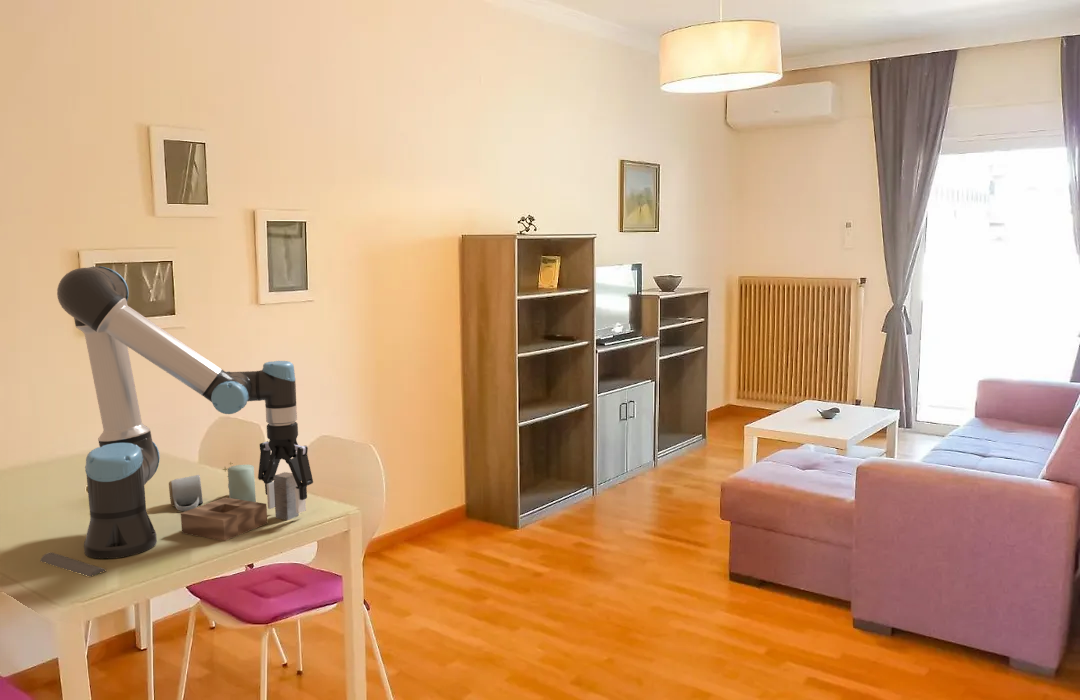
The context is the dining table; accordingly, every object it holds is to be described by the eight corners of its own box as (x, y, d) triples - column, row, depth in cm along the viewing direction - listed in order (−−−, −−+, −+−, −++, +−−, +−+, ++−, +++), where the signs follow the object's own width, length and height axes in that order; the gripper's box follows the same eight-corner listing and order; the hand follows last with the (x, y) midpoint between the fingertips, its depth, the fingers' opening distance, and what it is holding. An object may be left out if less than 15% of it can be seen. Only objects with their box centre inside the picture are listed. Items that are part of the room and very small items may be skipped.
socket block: (224, 540, 204) (223, 520, 204) (182, 533, 210) (180, 513, 210) (267, 523, 217) (266, 503, 216) (225, 516, 223) (224, 497, 222)
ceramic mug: (170, 502, 236) (167, 475, 234) (202, 498, 239) (200, 471, 238) (171, 514, 226) (168, 485, 225) (204, 510, 229) (202, 481, 228)
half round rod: (89, 580, 183) (88, 572, 183) (38, 563, 193) (38, 556, 193) (108, 573, 187) (107, 565, 186) (57, 557, 197) (57, 550, 197)
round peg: (243, 513, 225) (240, 472, 224) (224, 510, 228) (222, 469, 227) (261, 506, 231) (259, 465, 230) (243, 503, 234) (240, 463, 233)
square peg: (287, 520, 219) (285, 477, 218) (275, 518, 221) (273, 475, 219) (298, 515, 223) (296, 473, 221) (286, 513, 224) (284, 472, 223)
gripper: (325, 422, 217) (329, 510, 220) (260, 416, 227) (265, 500, 229) (305, 428, 211) (309, 519, 213) (239, 422, 220) (244, 508, 223)
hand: (286, 509), depth 221 cm, fingers open, 9 cm apart
